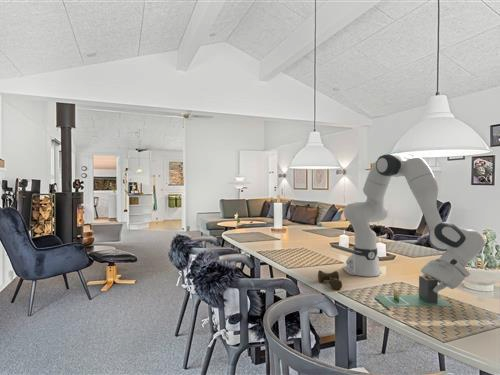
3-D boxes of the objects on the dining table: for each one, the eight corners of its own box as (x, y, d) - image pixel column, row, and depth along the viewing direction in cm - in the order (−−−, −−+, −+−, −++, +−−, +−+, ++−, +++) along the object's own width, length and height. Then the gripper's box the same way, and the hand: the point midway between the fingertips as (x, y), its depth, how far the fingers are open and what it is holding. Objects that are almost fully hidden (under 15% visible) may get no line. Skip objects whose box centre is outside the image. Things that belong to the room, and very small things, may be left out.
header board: (374, 298, 145) (374, 295, 145) (434, 298, 145) (434, 294, 145) (387, 310, 132) (387, 306, 132) (453, 309, 132) (453, 305, 132)
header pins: (393, 298, 140) (393, 289, 140) (395, 298, 140) (395, 289, 140) (397, 301, 137) (397, 292, 137) (399, 301, 137) (399, 291, 137)
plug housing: (418, 297, 142) (419, 273, 142) (428, 297, 142) (428, 273, 142) (427, 303, 135) (427, 277, 135) (437, 302, 136) (437, 277, 135)
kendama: (326, 291, 156) (315, 278, 176) (347, 292, 157) (333, 278, 177) (327, 278, 156) (315, 267, 176) (347, 279, 156) (334, 267, 176)
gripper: (431, 253, 149) (409, 275, 149) (461, 263, 129) (435, 289, 129) (441, 263, 149) (419, 285, 149) (473, 275, 129) (447, 301, 129)
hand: (427, 287), depth 139 cm, fingers open, 8 cm apart
